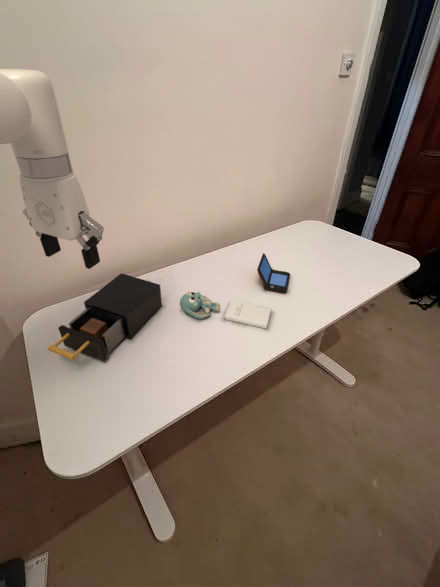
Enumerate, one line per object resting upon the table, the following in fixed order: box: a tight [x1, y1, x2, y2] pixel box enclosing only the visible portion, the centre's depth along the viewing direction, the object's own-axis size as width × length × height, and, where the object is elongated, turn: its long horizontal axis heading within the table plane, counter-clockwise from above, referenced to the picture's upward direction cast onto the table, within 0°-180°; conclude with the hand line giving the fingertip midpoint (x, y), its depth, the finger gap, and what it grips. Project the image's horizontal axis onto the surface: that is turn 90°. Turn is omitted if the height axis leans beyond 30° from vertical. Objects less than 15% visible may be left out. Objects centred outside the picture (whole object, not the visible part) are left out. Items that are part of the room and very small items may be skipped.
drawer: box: [47, 306, 128, 363], centre depth 76 cm, size 20×12×6 cm, turn 157°
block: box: [80, 318, 108, 341], centre depth 77 cm, size 4×4×4 cm
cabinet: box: [83, 272, 163, 340], centre depth 86 cm, size 16×14×8 cm
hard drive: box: [224, 300, 272, 330], centre depth 90 cm, size 2×8×12 cm
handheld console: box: [257, 252, 291, 294], centre depth 103 cm, size 12×11×7 cm
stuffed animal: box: [179, 291, 221, 320], centre depth 90 cm, size 11×7×12 cm
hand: (73, 259), depth 58 cm, fingers open, 9 cm apart
